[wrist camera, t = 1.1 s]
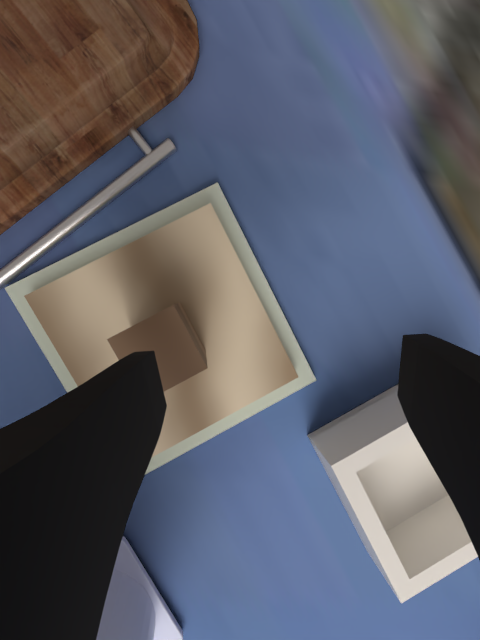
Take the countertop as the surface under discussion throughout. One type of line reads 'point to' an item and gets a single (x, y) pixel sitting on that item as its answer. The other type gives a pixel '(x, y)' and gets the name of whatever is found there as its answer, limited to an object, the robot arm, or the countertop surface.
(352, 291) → the countertop surface
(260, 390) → the birch lid
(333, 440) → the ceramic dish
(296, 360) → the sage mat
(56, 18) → the chopping board
